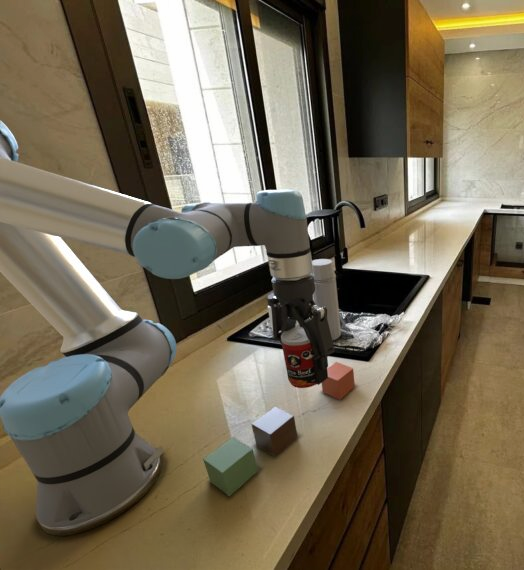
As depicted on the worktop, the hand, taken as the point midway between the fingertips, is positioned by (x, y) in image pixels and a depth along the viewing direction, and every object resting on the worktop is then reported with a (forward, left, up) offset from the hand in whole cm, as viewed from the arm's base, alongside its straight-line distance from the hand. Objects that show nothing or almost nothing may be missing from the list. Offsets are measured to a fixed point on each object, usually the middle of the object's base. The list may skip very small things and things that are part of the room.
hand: (307, 374), depth 70 cm
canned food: (0, 0, -1) cm, 1 cm away
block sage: (0, -19, -10) cm, 21 cm away
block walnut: (0, -10, -10) cm, 14 cm away
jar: (-37, +23, -10) cm, 45 cm away
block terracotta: (0, +8, -10) cm, 13 cm away
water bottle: (-20, +25, -10) cm, 34 cm away
